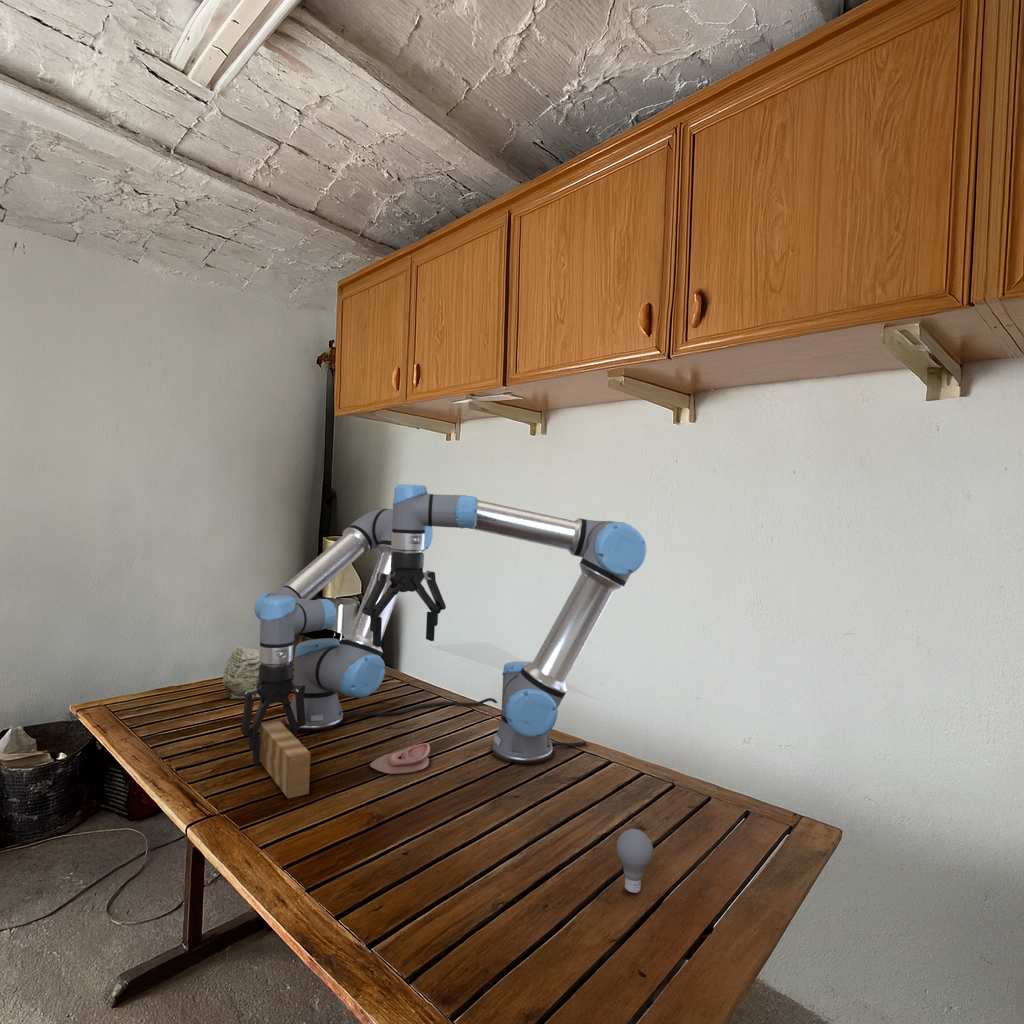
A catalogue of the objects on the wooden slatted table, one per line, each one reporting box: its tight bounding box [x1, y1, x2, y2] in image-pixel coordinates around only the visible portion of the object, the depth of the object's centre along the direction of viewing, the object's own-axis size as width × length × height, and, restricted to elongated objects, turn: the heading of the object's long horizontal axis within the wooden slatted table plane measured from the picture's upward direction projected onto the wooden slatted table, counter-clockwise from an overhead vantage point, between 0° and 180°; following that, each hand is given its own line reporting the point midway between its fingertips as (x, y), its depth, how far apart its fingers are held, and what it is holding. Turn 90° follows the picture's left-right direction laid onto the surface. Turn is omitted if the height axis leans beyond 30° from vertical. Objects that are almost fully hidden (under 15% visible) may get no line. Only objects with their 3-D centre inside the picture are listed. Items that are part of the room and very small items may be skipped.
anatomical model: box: [369, 742, 431, 775], centre depth 151 cm, size 13×4×12 cm
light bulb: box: [615, 828, 654, 894], centre depth 106 cm, size 6×6×10 cm
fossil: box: [222, 646, 261, 699], centre depth 198 cm, size 9×18×15 cm, turn 132°
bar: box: [259, 720, 311, 800], centre depth 143 cm, size 22×4×9 cm, turn 36°
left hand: (272, 759), depth 149 cm, fingers open, 7 cm apart
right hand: (404, 642), depth 146 cm, fingers open, 13 cm apart
